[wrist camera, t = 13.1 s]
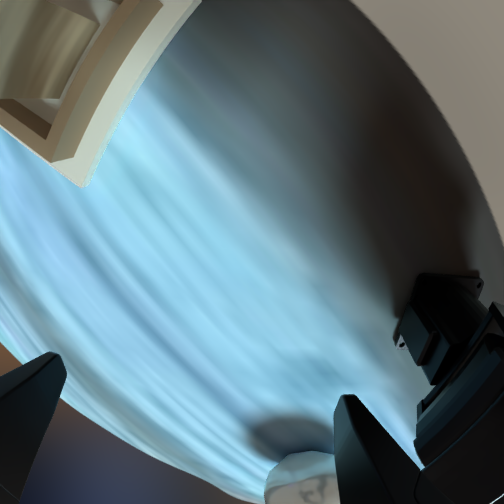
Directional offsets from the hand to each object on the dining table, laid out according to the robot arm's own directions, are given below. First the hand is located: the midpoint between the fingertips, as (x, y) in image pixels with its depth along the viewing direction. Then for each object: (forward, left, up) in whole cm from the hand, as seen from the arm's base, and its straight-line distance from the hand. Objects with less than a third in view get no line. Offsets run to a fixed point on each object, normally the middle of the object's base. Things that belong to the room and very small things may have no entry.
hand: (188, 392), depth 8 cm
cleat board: (+12, -13, -12) cm, 22 cm away
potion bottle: (-11, +26, -12) cm, 31 cm away
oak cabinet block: (+12, -13, -11) cm, 21 cm away
